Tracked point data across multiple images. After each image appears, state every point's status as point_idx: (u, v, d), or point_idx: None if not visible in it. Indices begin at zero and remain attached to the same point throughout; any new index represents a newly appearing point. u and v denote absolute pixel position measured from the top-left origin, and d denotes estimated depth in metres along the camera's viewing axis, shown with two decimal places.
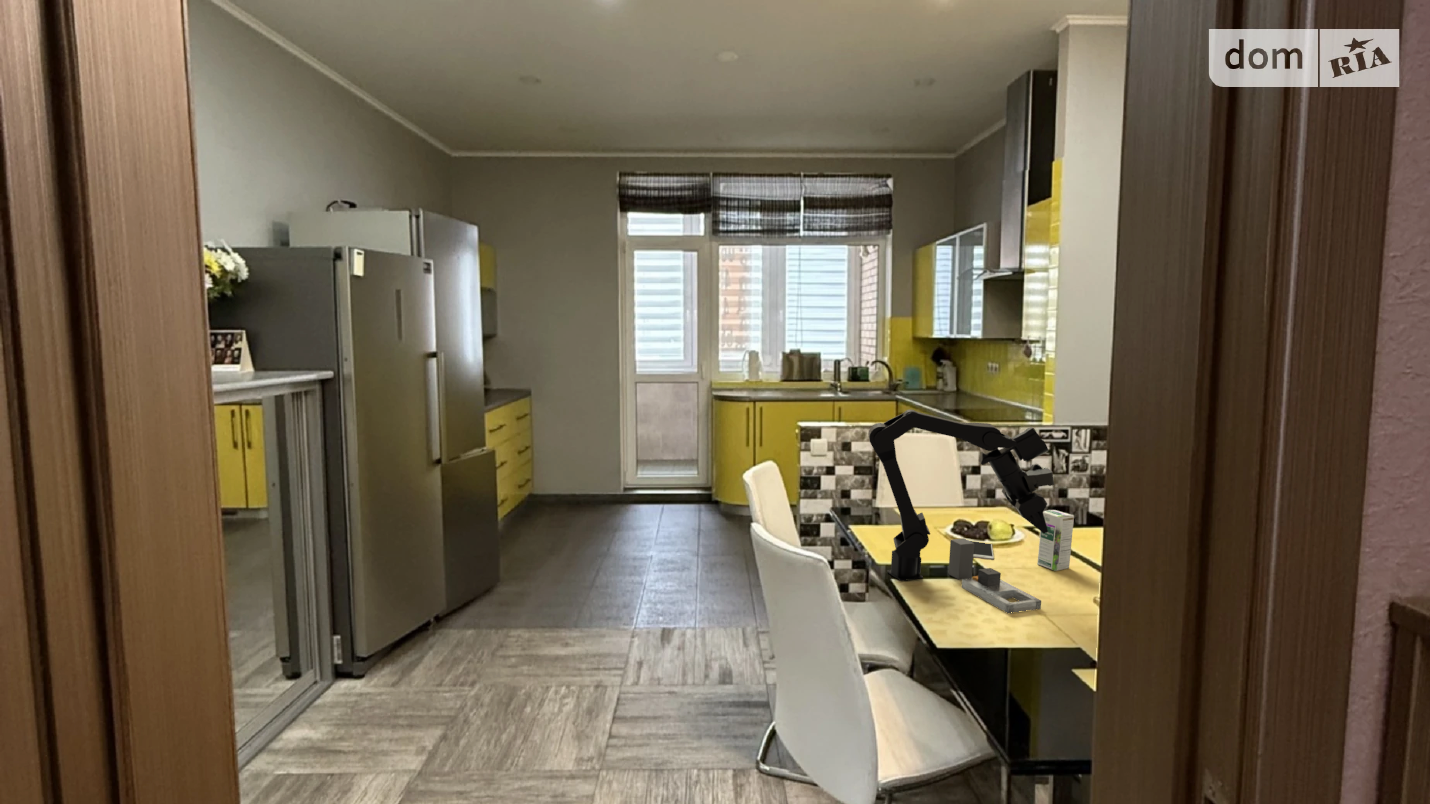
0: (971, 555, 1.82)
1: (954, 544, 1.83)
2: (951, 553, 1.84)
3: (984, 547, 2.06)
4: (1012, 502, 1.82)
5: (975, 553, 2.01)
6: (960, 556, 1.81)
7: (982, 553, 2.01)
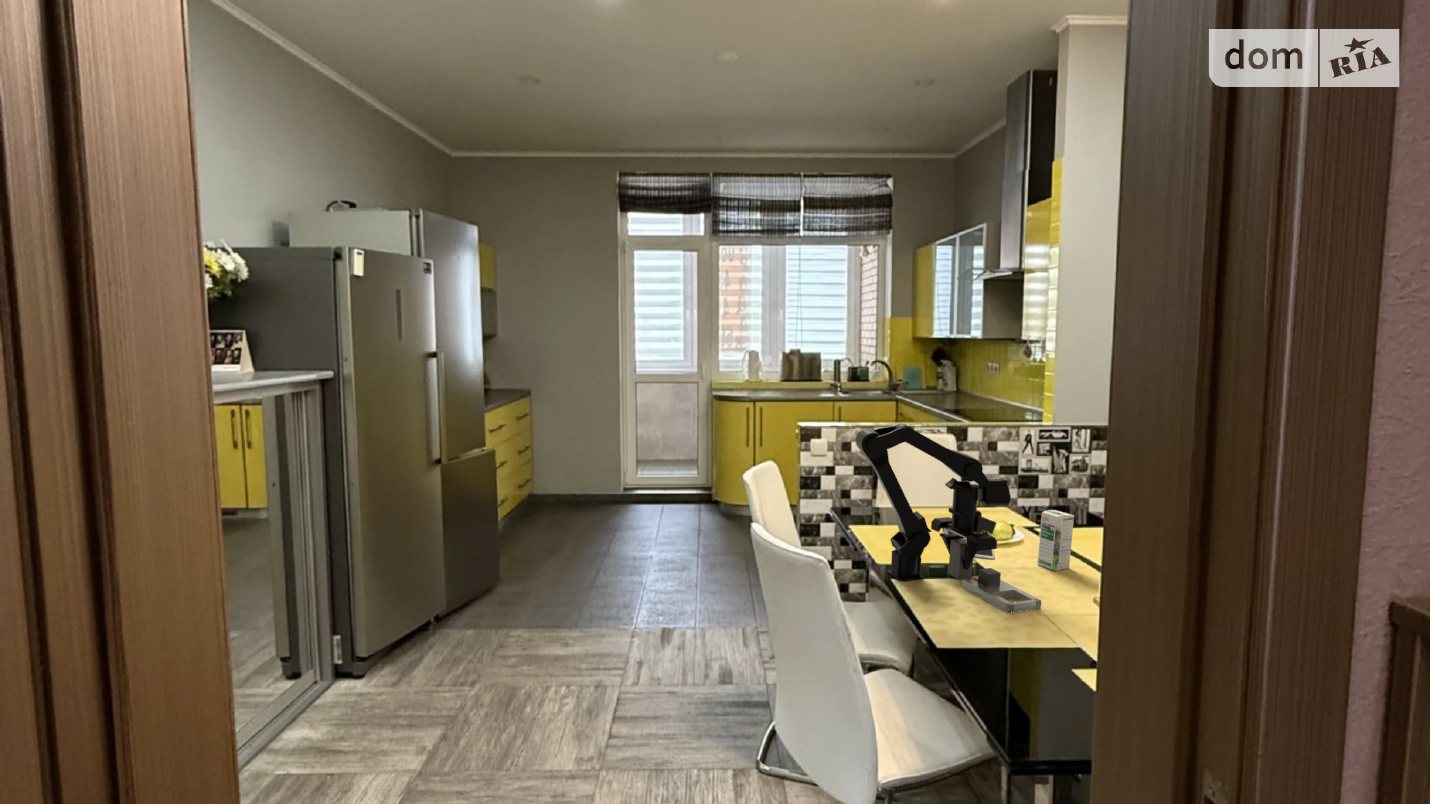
0: None
1: (954, 544, 1.83)
2: (951, 553, 1.84)
3: None
4: (947, 538, 1.85)
5: None
6: (960, 556, 1.81)
7: (982, 553, 2.01)
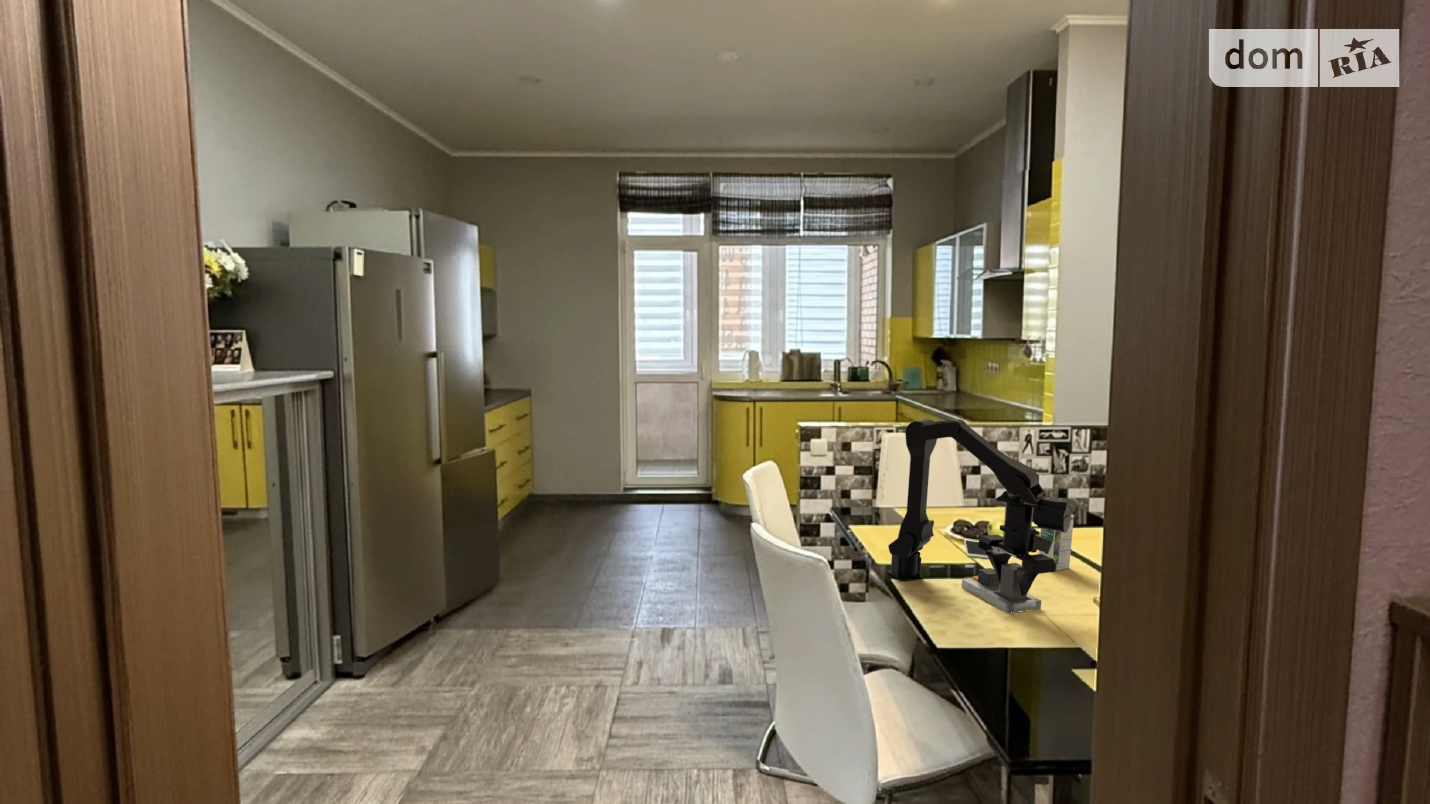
0: None
1: (1006, 569, 1.66)
2: (1002, 579, 1.67)
3: None
4: (994, 556, 1.69)
5: (976, 553, 2.00)
6: (1013, 583, 1.64)
7: (983, 553, 2.00)
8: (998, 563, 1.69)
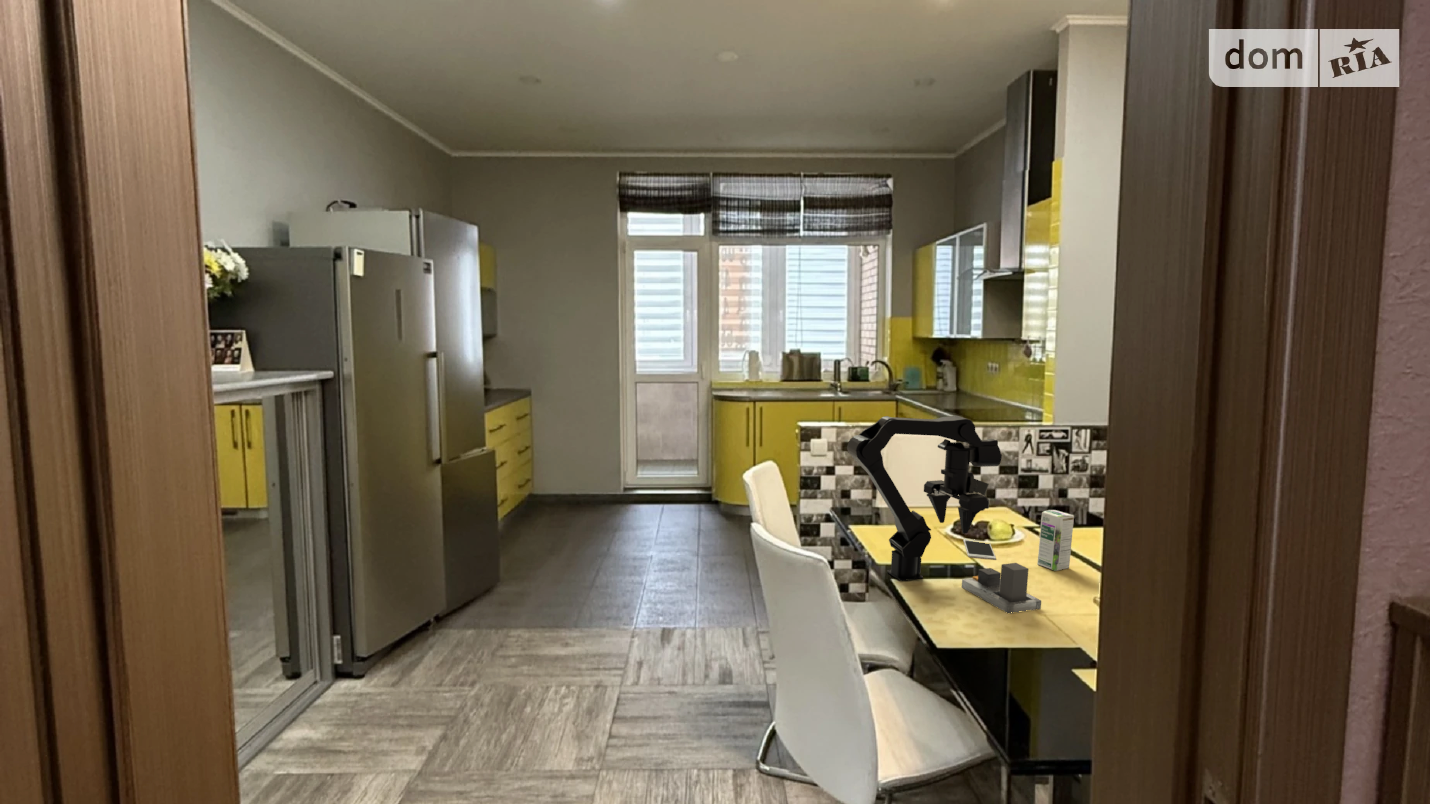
0: (1025, 582, 1.65)
1: (1006, 569, 1.66)
2: (1002, 579, 1.67)
3: (984, 547, 2.06)
4: (934, 497, 1.87)
5: (977, 553, 2.00)
6: (1013, 583, 1.64)
7: (983, 553, 2.00)
8: (938, 504, 1.88)
